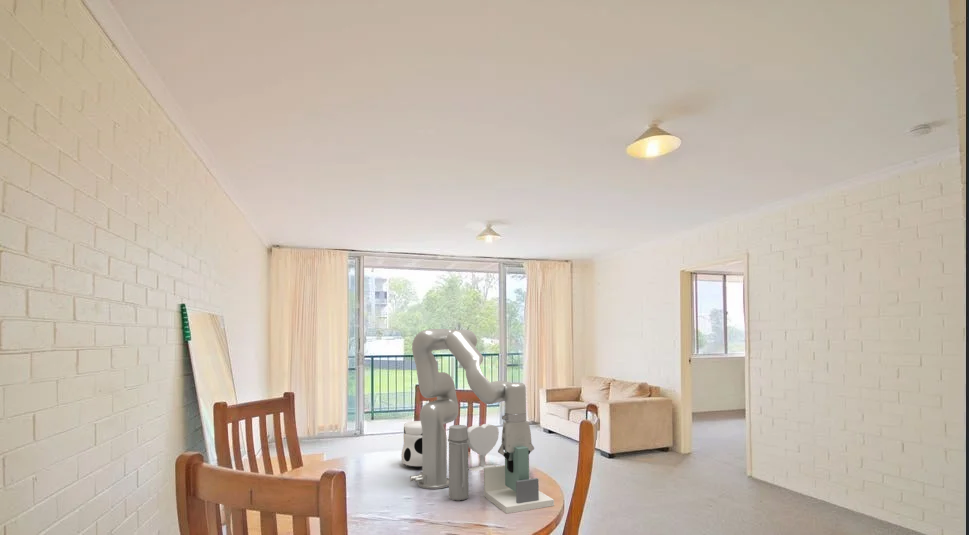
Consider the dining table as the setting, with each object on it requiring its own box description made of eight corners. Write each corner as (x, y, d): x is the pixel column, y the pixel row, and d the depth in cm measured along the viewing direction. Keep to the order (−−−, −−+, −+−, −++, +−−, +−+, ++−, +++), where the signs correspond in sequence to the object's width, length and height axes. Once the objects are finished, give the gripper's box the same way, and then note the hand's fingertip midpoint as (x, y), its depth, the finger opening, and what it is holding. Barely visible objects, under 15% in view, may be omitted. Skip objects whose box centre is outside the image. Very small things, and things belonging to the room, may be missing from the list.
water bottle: (444, 496, 191) (444, 425, 194) (465, 493, 194) (464, 423, 197) (453, 504, 183) (453, 430, 185) (474, 501, 186) (474, 428, 188)
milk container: (402, 461, 241) (402, 420, 243) (440, 459, 243) (440, 419, 245) (400, 471, 224) (400, 428, 226) (441, 470, 226) (441, 426, 228)
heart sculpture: (493, 463, 235) (493, 422, 237) (500, 466, 231) (499, 424, 233) (464, 469, 226) (463, 426, 228) (470, 472, 222) (470, 428, 224)
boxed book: (518, 494, 181) (518, 448, 183) (505, 485, 191) (504, 442, 193) (529, 492, 183) (528, 447, 184) (515, 483, 193) (514, 441, 194)
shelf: (506, 513, 174) (506, 482, 175) (483, 496, 191) (483, 467, 192) (554, 505, 181) (553, 475, 182) (528, 489, 198) (527, 462, 199)
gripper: (498, 421, 183) (499, 476, 181) (541, 417, 189) (542, 470, 187) (490, 418, 190) (490, 470, 188) (531, 414, 196) (532, 465, 194)
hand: (516, 470), depth 188 cm, fingers closed on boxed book, 4 cm apart
